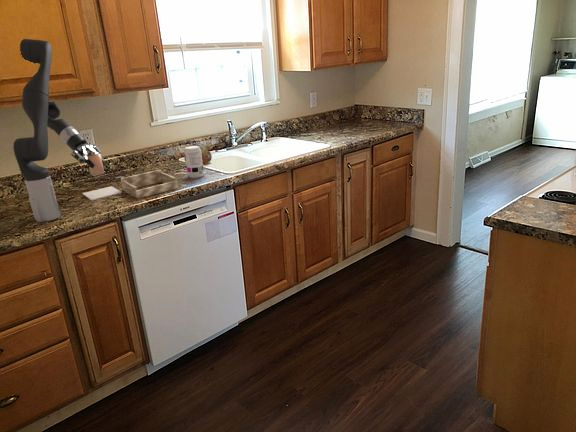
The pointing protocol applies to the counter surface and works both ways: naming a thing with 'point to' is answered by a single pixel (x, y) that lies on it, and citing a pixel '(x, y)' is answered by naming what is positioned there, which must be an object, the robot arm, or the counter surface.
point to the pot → (96, 164)
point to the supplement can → (194, 161)
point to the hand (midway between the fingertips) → (98, 164)
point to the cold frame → (148, 183)
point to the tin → (205, 156)
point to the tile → (101, 193)
